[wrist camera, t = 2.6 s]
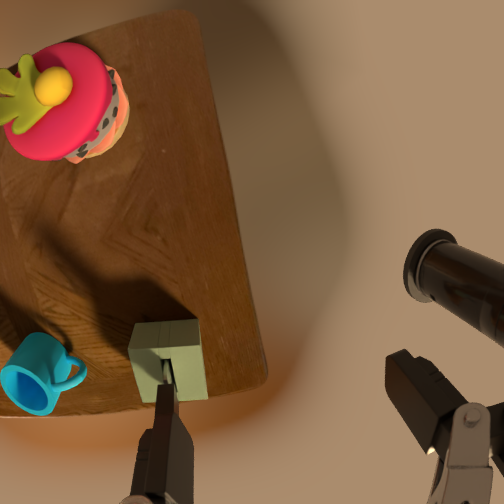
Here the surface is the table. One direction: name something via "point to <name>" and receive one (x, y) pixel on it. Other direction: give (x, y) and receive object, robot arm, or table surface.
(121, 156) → the table surface
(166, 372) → the knife
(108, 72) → the cake
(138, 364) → the knife block
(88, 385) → the table surface
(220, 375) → the table surface
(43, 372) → the mug
